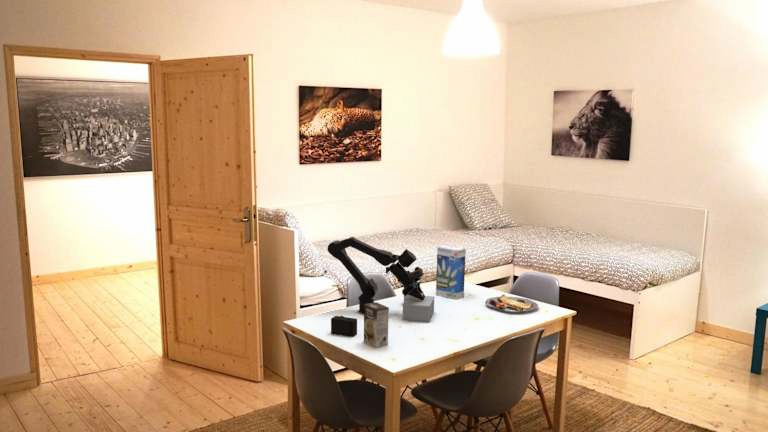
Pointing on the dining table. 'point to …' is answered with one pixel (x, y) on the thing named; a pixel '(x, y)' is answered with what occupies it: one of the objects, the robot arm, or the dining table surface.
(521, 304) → the food plate
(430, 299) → the lid
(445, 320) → the dining table surface
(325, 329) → the dining table surface
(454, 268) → the string lights box
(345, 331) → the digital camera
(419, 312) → the carton
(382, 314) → the coffee box
